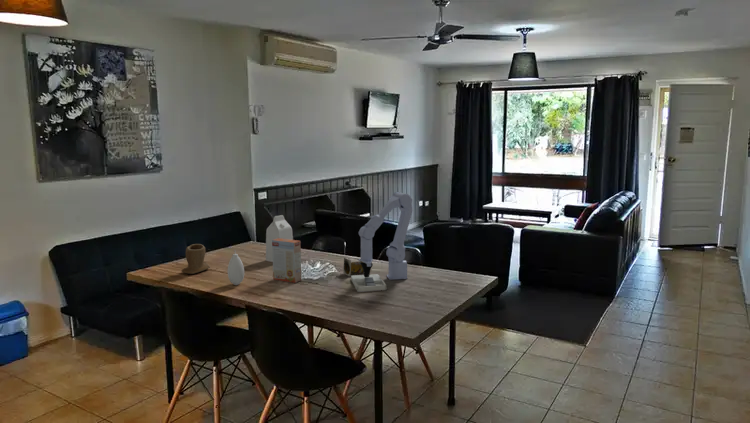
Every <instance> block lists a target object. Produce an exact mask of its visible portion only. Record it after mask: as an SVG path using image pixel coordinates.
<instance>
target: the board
mask: <svg viewBox="0 0 750 423" xmlns="http://www.w3.org/2000/svg"><path fill="white" fill-rule="evenodd" d="M369 277H373V280H374V283H375V284H381V280H383V279H382V278H381V276H380V275H379V274H377V273H376V274H375V273H374V274H370V275H369ZM369 277H364V274H359V275H358V274H357V275H356V274H354V275H353V274H352V275H350V280H351V282H352V284H353V285H354V281H356V283H357V285H365V278H369Z"/></svg>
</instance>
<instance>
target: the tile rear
mask: <svg viewBox="0 0 750 423" xmlns="http://www.w3.org/2000/svg"><path fill="white" fill-rule="evenodd" d="M366 283H374V280H373V277H369V278H365V285H366Z"/></svg>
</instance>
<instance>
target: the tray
mask: <svg viewBox="0 0 750 423" xmlns="http://www.w3.org/2000/svg"><path fill="white" fill-rule="evenodd" d="M353 286H354V288H355V290H356V292H357V293H361V292H362V293H363V292H364V293H365V292H376V291H377V292H379V291H381V290H382V291H387V284H386V282H385V281H384V280H383V279H382V280H381V284H376V286H366V285H357V283H356V281H354V284H353Z"/></svg>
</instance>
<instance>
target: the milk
mask: <svg viewBox="0 0 750 423" xmlns="http://www.w3.org/2000/svg"><path fill="white" fill-rule="evenodd" d="M272 220H273V221H272V222H271V223H270V225H269V226H268V227H267V228H266V233H265V261H266V262H271V263H273V253H272V240H274V239H277V238H282V239H290V240H294V236H293V228H292V226H291V225H290V223H288V221H287V220H286V219H285V216H284V215H283V214H281V215H275V216H273V219H272Z"/></svg>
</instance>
